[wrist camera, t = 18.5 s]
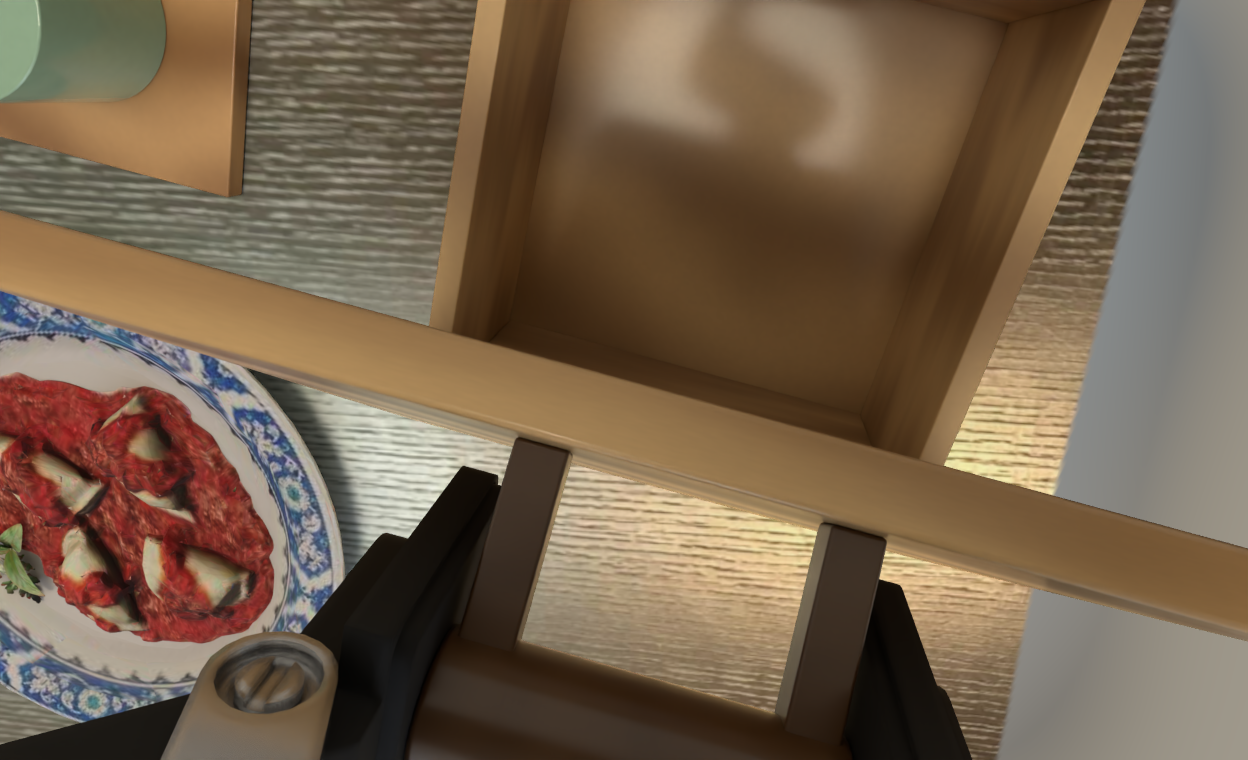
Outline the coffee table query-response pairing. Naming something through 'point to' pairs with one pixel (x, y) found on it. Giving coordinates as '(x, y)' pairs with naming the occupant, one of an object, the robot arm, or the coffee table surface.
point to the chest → (769, 194)
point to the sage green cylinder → (78, 49)
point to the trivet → (164, 106)
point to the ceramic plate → (144, 514)
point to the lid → (651, 454)
